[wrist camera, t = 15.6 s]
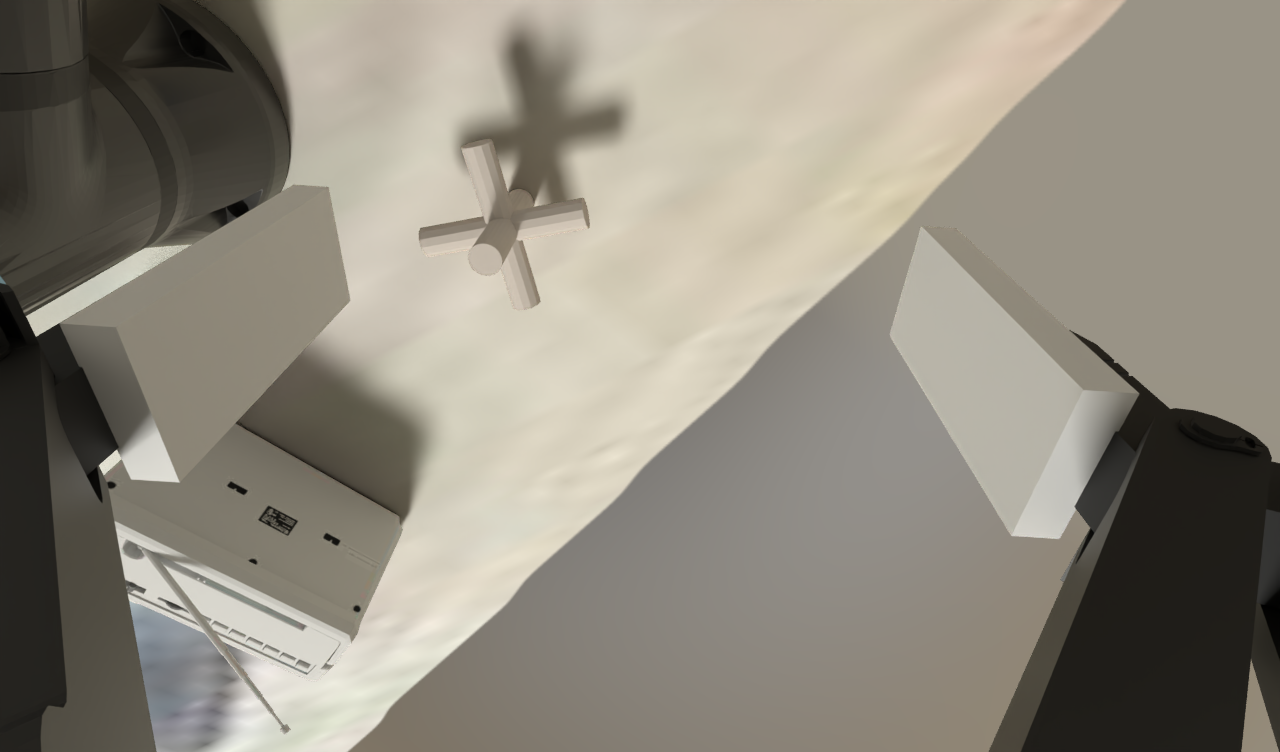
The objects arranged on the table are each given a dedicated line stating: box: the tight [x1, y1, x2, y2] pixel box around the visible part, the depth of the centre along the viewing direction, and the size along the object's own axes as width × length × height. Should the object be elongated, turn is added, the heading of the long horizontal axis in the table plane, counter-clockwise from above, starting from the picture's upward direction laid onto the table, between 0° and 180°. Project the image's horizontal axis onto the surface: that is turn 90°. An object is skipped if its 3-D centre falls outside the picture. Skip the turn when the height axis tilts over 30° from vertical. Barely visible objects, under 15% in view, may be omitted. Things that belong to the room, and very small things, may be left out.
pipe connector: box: [419, 139, 590, 310], centre depth 39 cm, size 10×10×10 cm
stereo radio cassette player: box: [104, 424, 403, 735], centre depth 49 cm, size 21×8×20 cm, turn 49°
